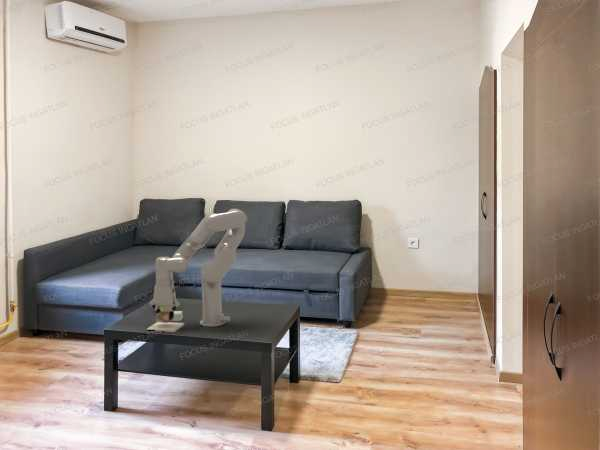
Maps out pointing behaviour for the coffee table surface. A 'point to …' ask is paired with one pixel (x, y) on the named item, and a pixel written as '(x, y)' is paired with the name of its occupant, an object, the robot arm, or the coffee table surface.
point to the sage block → (178, 316)
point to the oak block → (163, 317)
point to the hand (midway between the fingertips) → (164, 318)
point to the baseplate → (166, 326)
